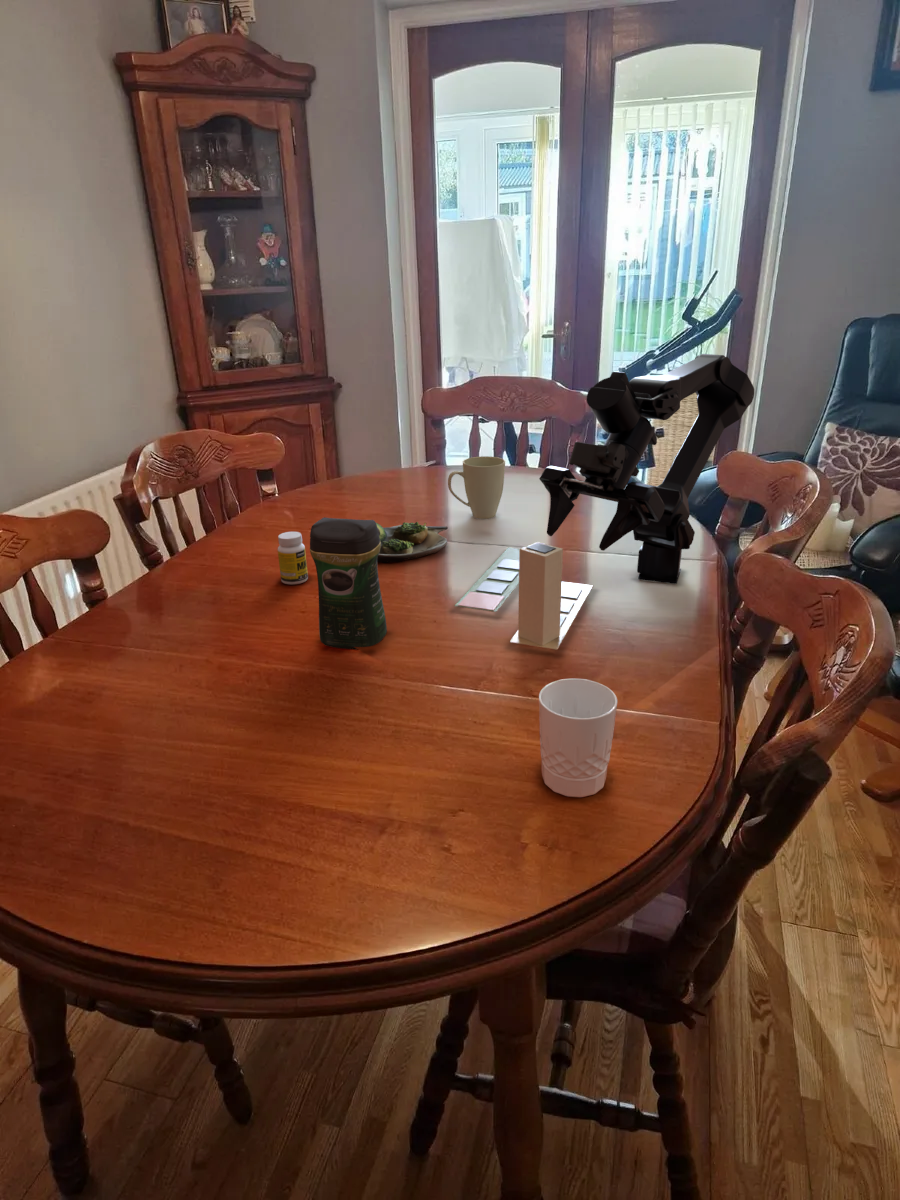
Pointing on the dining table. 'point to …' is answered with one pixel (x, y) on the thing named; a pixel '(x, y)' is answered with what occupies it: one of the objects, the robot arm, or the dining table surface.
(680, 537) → the robot arm
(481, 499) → the mug
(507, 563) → the strip
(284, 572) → the supplement bottle
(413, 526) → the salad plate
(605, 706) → the white cup
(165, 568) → the dining table surface
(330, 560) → the coffee jar
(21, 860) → the dining table surface
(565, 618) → the strip
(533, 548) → the cream tall square block
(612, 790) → the dining table surface
